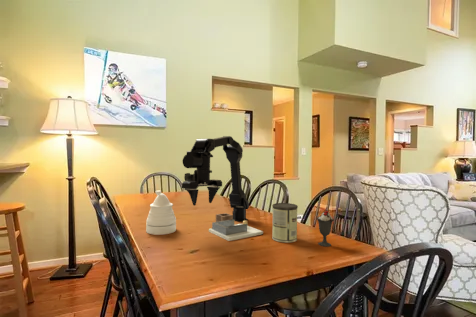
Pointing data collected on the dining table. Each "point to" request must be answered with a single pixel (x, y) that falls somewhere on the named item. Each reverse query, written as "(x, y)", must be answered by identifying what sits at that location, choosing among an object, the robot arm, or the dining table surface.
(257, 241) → the dining table surface
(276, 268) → the dining table surface
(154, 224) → the honey pot
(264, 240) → the dining table surface
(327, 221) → the sundae
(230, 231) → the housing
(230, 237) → the base board
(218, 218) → the hollow wooden box
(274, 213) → the coffee can
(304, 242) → the dining table surface
